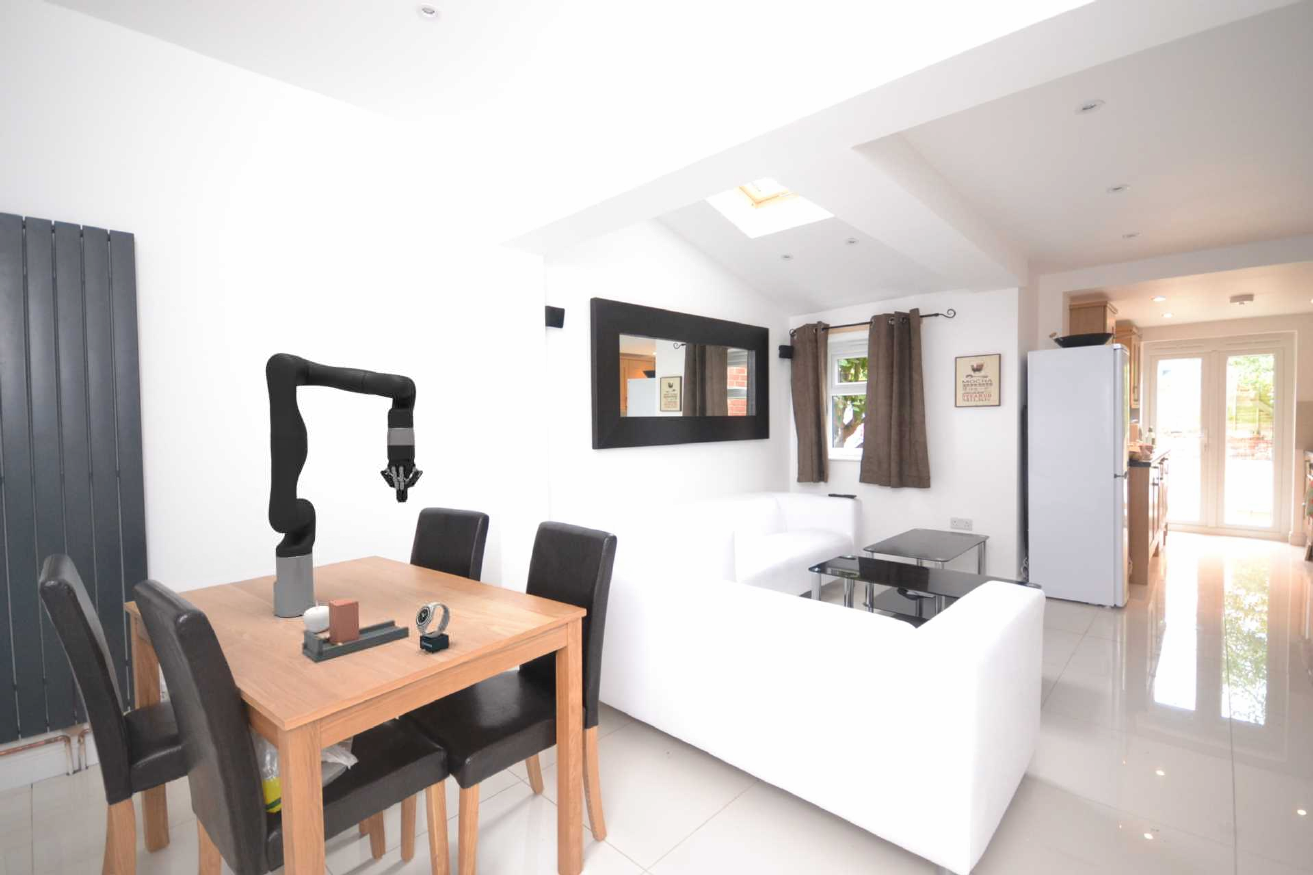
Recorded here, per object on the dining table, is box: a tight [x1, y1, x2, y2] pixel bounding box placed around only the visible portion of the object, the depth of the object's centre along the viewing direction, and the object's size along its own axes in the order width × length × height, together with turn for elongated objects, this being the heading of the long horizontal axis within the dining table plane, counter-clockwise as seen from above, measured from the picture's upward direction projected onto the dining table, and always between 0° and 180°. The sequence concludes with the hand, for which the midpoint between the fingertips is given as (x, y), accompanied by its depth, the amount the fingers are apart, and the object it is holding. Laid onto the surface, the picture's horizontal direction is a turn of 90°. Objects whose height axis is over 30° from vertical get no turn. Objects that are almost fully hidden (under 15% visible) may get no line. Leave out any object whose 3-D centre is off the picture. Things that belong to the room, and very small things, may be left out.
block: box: [328, 597, 360, 645], centre depth 147 cm, size 5×5×10 cm
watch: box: [415, 601, 451, 654], centre depth 146 cm, size 6×8×11 cm
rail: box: [301, 619, 410, 663], centre depth 149 cm, size 22×9×5 cm, turn 138°
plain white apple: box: [302, 600, 329, 634], centre depth 160 cm, size 7×7×8 cm
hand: (402, 502), depth 176 cm, fingers closed
